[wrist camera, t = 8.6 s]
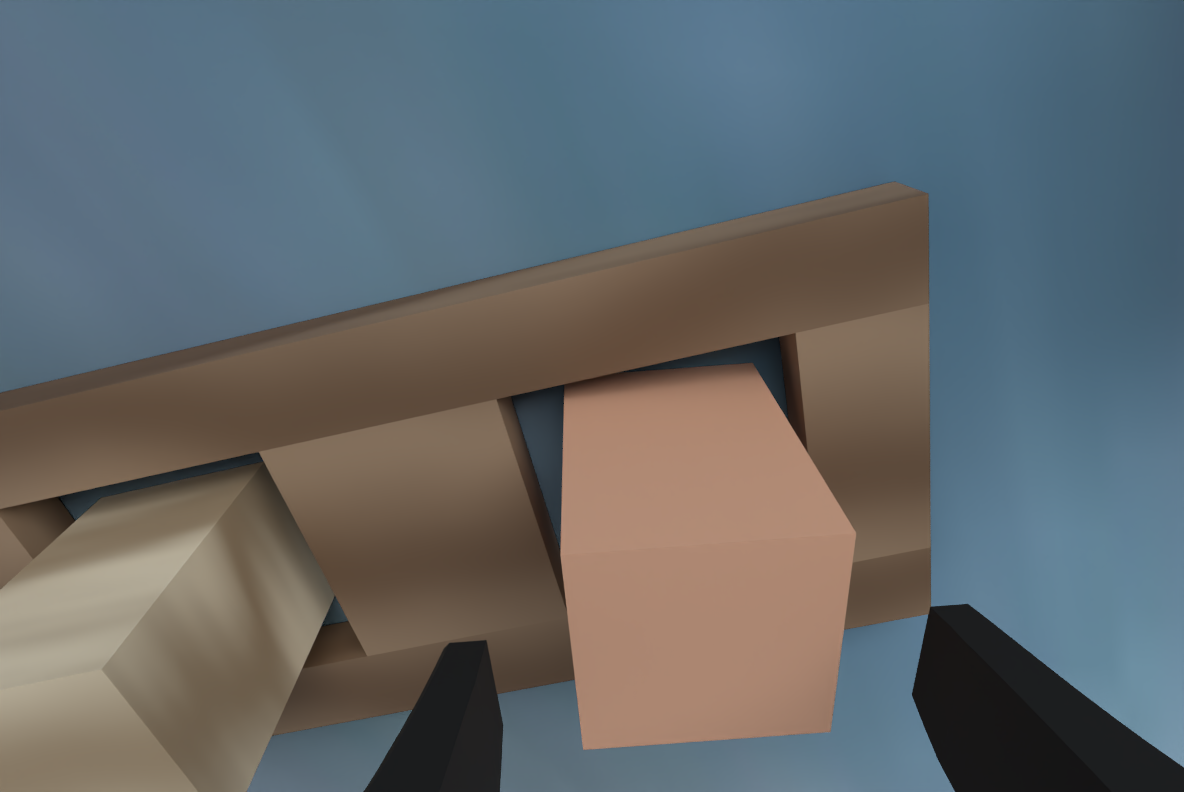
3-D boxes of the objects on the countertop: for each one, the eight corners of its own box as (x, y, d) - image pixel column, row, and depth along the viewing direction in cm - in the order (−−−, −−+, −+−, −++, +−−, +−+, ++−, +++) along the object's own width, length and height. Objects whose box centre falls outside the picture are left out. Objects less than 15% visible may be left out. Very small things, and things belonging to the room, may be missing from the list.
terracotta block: (564, 376, 16) (560, 555, 10) (752, 362, 16) (856, 533, 10) (579, 528, 18) (583, 749, 12) (746, 515, 18) (829, 731, 12)
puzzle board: (-119, 420, 16) (-182, 453, 15) (894, 181, 14) (928, 193, 13) (126, 723, 21) (94, 768, 19) (905, 574, 19) (930, 613, 18)
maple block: (101, 497, 17) (-141, 718, 11) (265, 460, 17) (101, 669, 11) (187, 623, 19) (19, 867, 13) (336, 593, 19) (229, 830, 13)
